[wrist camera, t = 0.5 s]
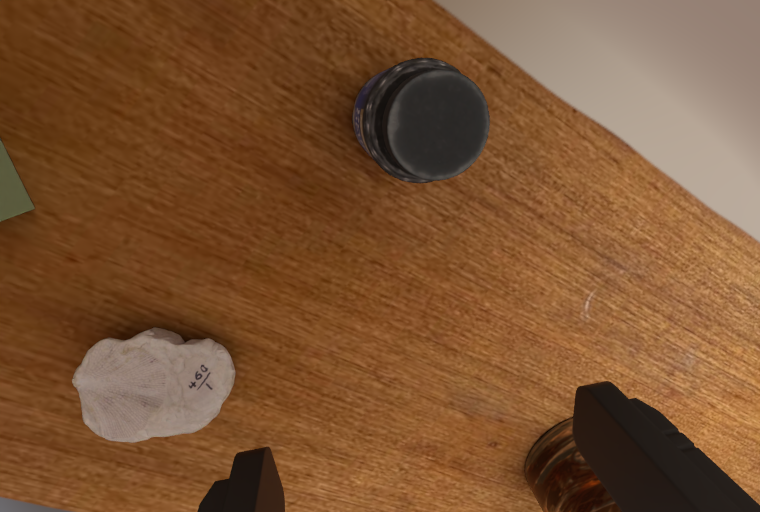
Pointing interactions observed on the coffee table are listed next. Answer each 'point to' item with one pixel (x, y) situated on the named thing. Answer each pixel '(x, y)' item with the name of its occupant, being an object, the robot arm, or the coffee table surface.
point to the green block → (11, 189)
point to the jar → (565, 475)
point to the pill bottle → (421, 120)
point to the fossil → (152, 385)
